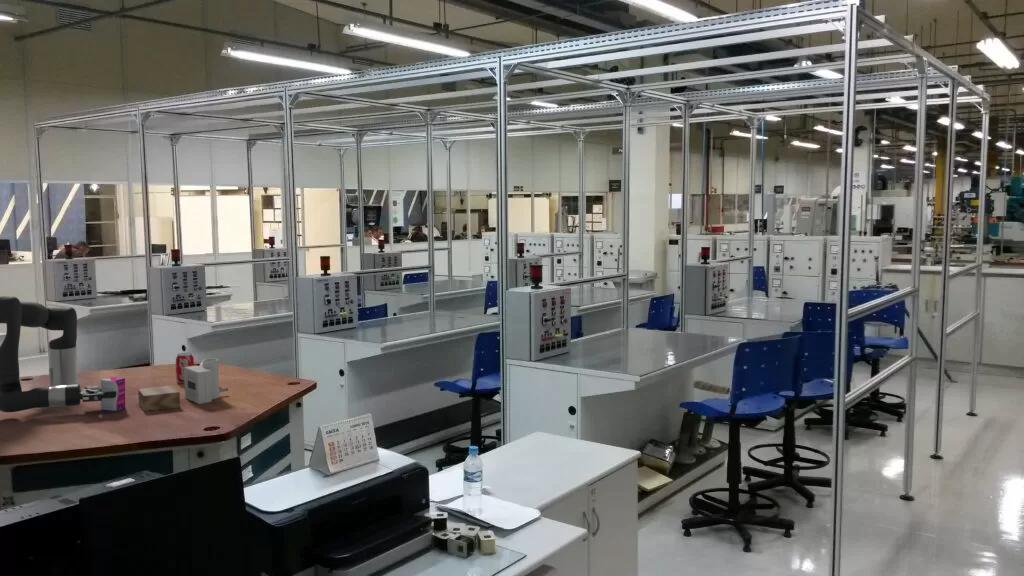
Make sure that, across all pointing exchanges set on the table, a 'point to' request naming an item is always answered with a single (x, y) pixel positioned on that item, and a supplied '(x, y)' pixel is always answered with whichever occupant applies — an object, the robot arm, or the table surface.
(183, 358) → the soda can
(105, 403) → the supplement box
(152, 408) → the walnut block
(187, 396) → the thermostat
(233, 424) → the table surface
